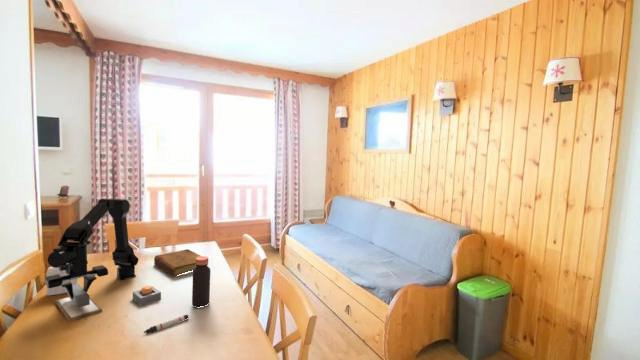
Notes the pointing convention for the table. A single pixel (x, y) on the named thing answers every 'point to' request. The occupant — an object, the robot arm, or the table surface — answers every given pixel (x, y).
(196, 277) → the bottle
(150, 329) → the marker
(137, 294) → the button housing
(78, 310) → the drawing board
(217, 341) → the table surface
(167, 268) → the diary
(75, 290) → the grey rectangular block
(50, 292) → the photo printer
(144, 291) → the button
